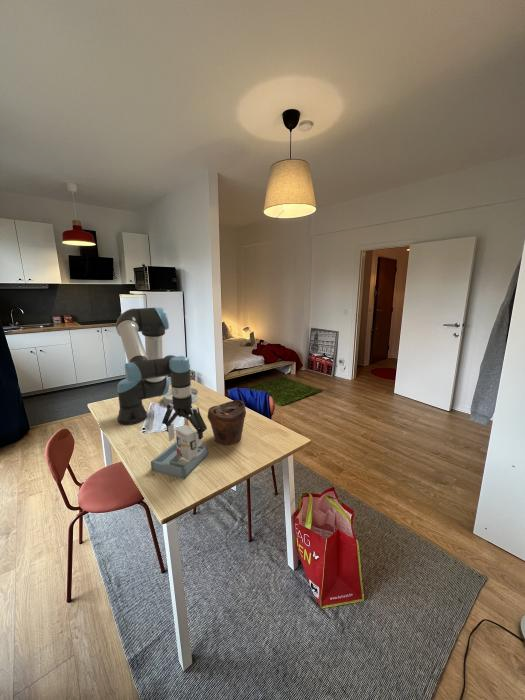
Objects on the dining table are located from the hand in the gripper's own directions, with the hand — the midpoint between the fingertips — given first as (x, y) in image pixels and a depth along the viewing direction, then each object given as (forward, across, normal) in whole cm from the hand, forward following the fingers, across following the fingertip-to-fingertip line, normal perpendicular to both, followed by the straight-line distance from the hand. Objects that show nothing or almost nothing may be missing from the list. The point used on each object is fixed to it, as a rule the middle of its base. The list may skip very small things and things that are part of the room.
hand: (185, 442), depth 120 cm
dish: (+11, -44, +57) cm, 72 cm away
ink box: (+6, +1, 0) cm, 6 cm away
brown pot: (+10, +7, +24) cm, 27 cm away
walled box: (+10, -3, 0) cm, 10 cm away
